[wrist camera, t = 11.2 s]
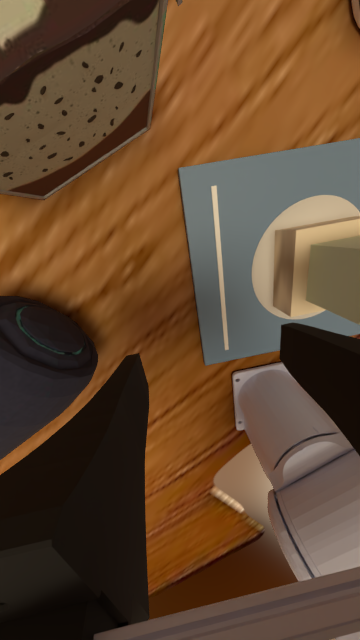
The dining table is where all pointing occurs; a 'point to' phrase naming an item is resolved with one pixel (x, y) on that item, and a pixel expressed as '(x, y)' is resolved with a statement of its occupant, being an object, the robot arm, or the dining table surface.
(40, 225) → the dining table surface
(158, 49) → the food container
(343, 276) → the sage block
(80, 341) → the portable speaker
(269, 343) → the board
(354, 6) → the supplement bottle
